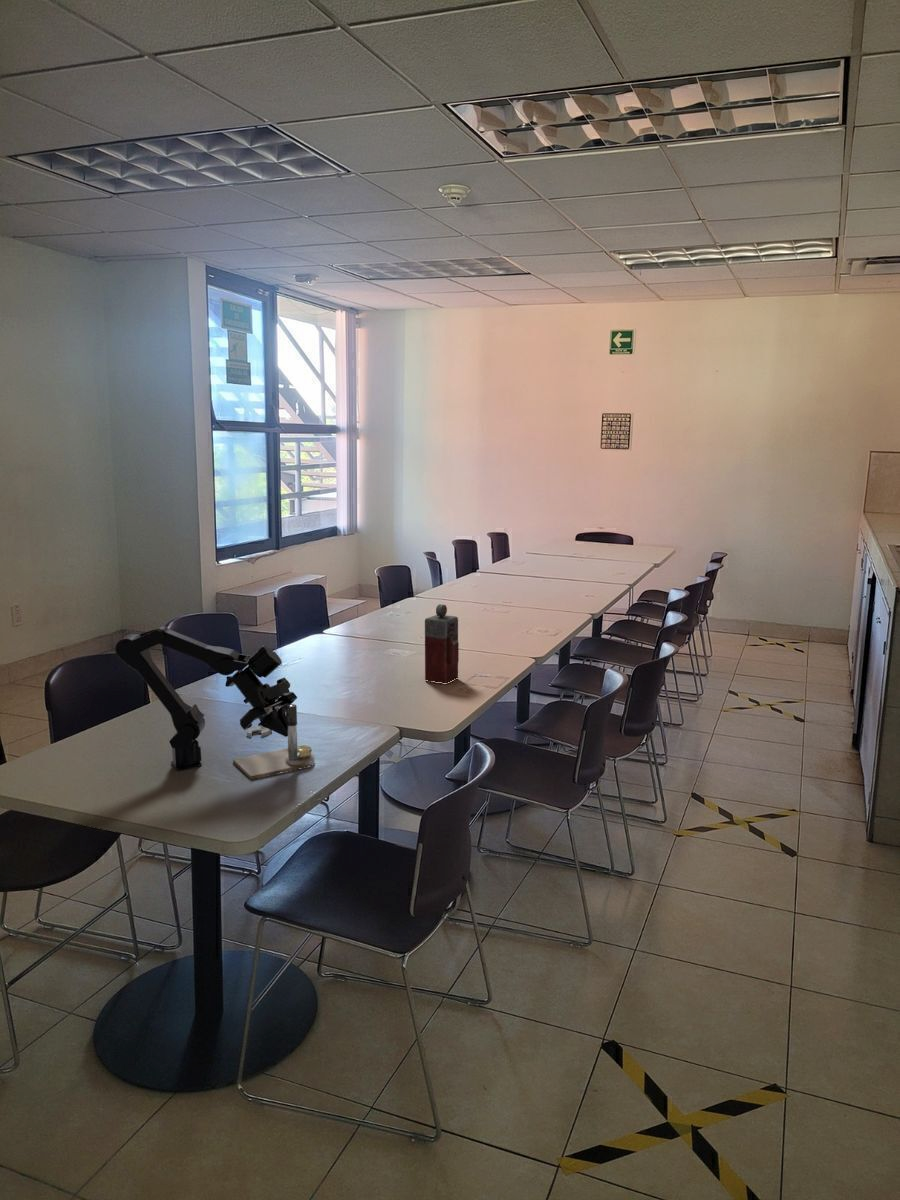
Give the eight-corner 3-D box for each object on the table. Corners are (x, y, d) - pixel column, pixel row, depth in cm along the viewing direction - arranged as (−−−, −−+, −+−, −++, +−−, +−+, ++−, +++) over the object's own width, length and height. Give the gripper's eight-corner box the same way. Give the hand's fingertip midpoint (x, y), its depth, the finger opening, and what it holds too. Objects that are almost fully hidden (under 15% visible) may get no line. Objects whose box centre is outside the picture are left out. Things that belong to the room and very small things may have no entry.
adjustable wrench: (285, 712, 273) (285, 707, 273) (303, 714, 271) (303, 709, 271) (243, 737, 250) (243, 731, 249) (263, 739, 248) (262, 734, 247)
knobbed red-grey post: (451, 685, 301) (451, 608, 296) (424, 681, 307) (424, 605, 302) (463, 679, 309) (464, 604, 304) (437, 675, 314) (437, 601, 309)
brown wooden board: (251, 779, 217) (250, 772, 217) (233, 762, 228) (232, 755, 228) (319, 765, 227) (319, 757, 227) (298, 749, 238) (298, 742, 238)
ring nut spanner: (292, 750, 231) (289, 695, 228) (314, 751, 230) (313, 696, 227) (279, 764, 221) (277, 706, 218) (303, 766, 220) (301, 707, 217)
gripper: (247, 679, 212) (286, 728, 210) (290, 662, 229) (326, 707, 226) (223, 705, 216) (260, 753, 214) (267, 686, 233) (302, 730, 231)
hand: (288, 735), depth 221 cm, fingers closed, pressing on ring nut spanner
